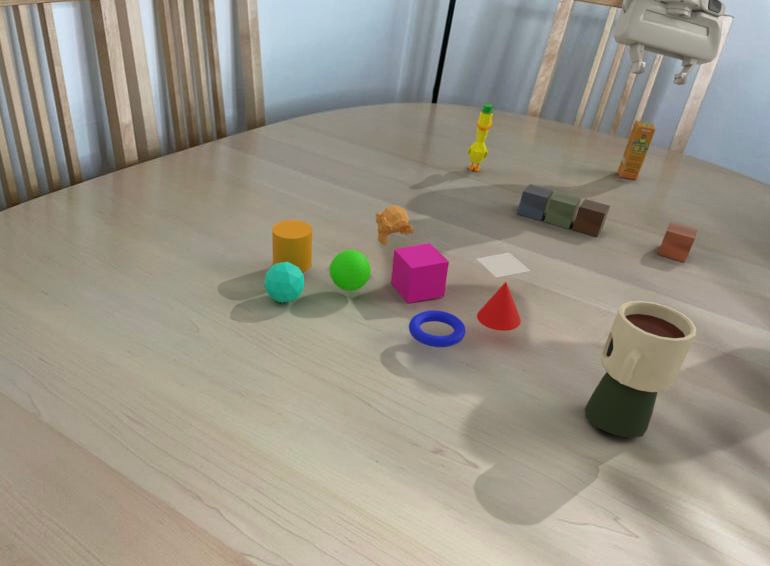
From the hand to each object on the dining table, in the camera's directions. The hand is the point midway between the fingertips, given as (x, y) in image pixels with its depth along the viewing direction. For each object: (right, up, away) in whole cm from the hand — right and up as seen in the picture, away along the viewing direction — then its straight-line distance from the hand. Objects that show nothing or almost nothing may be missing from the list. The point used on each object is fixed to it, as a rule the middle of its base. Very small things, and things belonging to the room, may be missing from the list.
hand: (658, 78), depth 135 cm
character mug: (-32, -57, -57) cm, 86 cm away
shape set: (-53, -42, -39) cm, 78 cm away
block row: (-18, -30, -17) cm, 39 cm away
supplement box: (-3, -17, +6) cm, 18 cm away
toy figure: (-33, -16, +2) cm, 37 cm away
